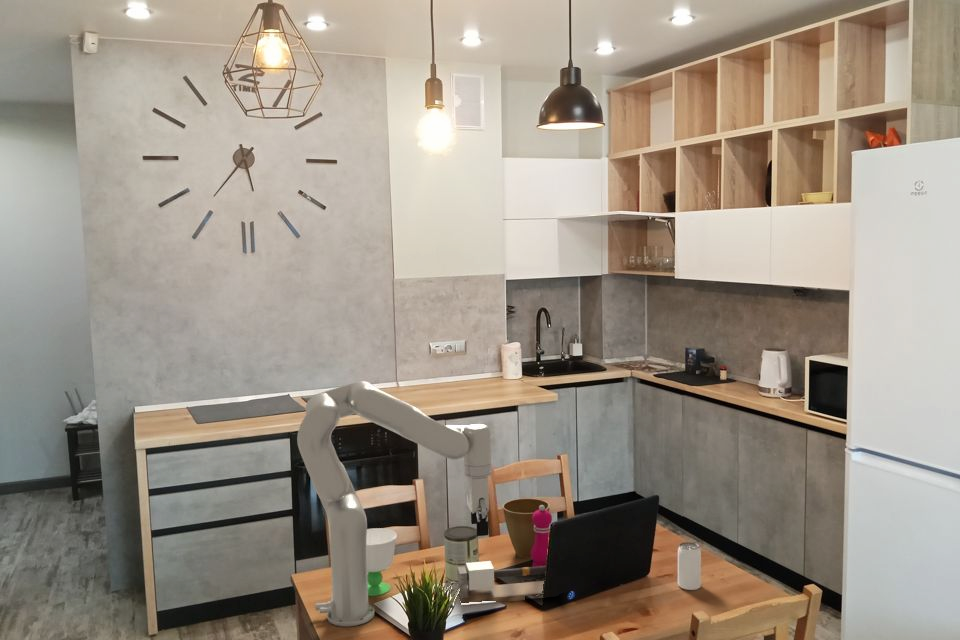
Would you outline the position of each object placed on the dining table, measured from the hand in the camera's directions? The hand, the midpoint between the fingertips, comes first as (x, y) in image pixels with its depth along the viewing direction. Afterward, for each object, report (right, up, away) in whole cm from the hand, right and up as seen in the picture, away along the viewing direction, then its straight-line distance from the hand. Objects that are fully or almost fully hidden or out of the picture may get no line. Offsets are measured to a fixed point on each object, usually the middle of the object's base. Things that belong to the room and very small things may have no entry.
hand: (479, 529), depth 223 cm
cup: (-30, -20, +9) cm, 37 cm away
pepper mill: (+19, -18, +21) cm, 34 cm away
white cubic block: (0, -16, +1) cm, 16 cm away
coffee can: (-5, -19, +16) cm, 25 cm away
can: (+60, -18, +7) cm, 63 cm away
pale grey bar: (+8, -19, +3) cm, 21 cm away
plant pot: (+15, -17, +33) cm, 40 cm away
